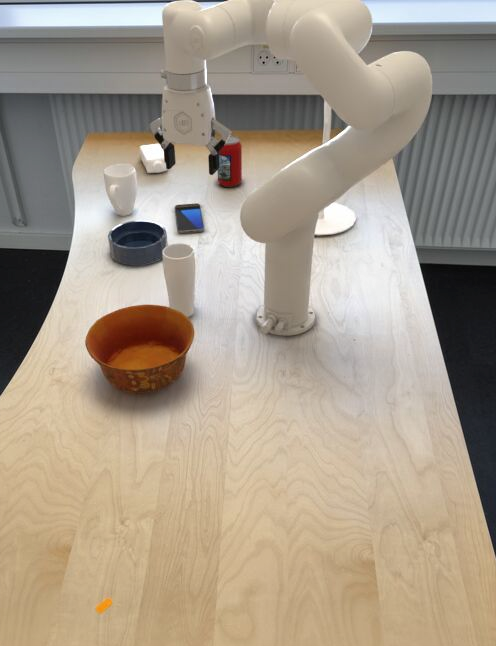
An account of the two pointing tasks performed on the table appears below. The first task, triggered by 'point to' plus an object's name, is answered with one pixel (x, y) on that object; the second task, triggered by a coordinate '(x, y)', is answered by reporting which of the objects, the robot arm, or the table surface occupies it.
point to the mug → (121, 187)
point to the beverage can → (230, 163)
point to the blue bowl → (137, 242)
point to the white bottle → (153, 158)
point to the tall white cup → (180, 276)
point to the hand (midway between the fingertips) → (192, 169)
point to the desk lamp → (335, 214)
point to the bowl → (141, 346)
